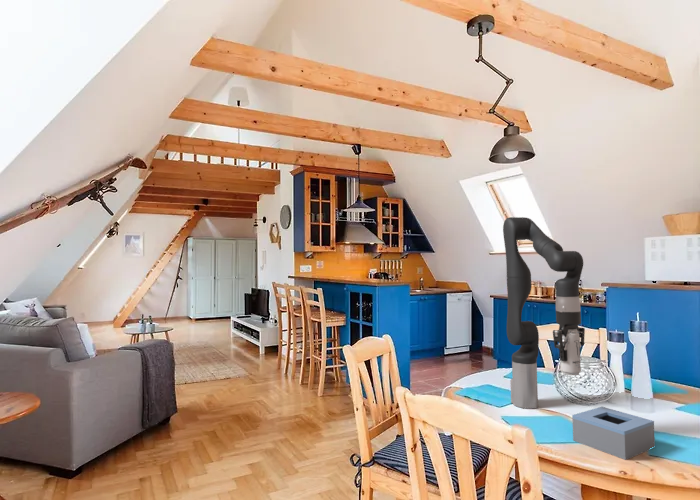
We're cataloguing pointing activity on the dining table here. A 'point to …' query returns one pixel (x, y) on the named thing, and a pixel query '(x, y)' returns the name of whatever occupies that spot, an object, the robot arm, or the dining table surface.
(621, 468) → the dining table surface
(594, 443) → the box
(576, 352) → the energy drink can
